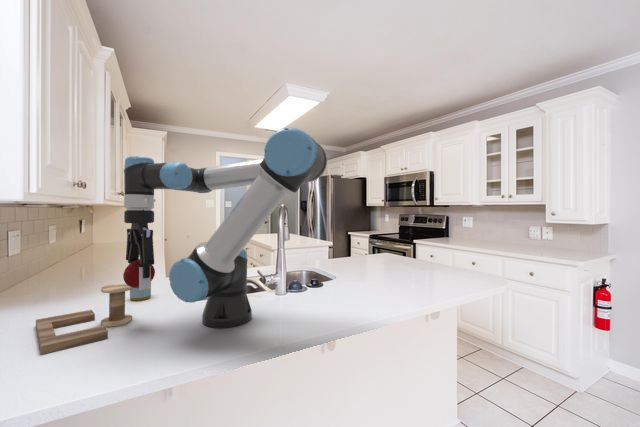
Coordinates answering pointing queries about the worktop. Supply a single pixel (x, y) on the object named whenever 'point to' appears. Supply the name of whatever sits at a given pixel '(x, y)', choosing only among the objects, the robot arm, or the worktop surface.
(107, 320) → the bobbin
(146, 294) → the bottle
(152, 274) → the apple
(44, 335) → the notched board
